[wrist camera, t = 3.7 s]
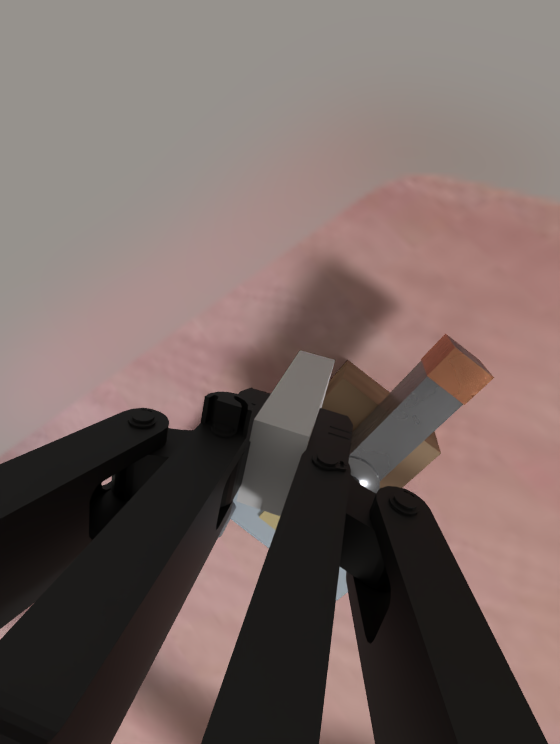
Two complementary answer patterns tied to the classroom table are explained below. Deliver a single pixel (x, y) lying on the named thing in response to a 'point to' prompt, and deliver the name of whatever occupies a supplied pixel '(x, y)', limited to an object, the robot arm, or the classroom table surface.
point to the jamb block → (357, 401)
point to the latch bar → (415, 410)
